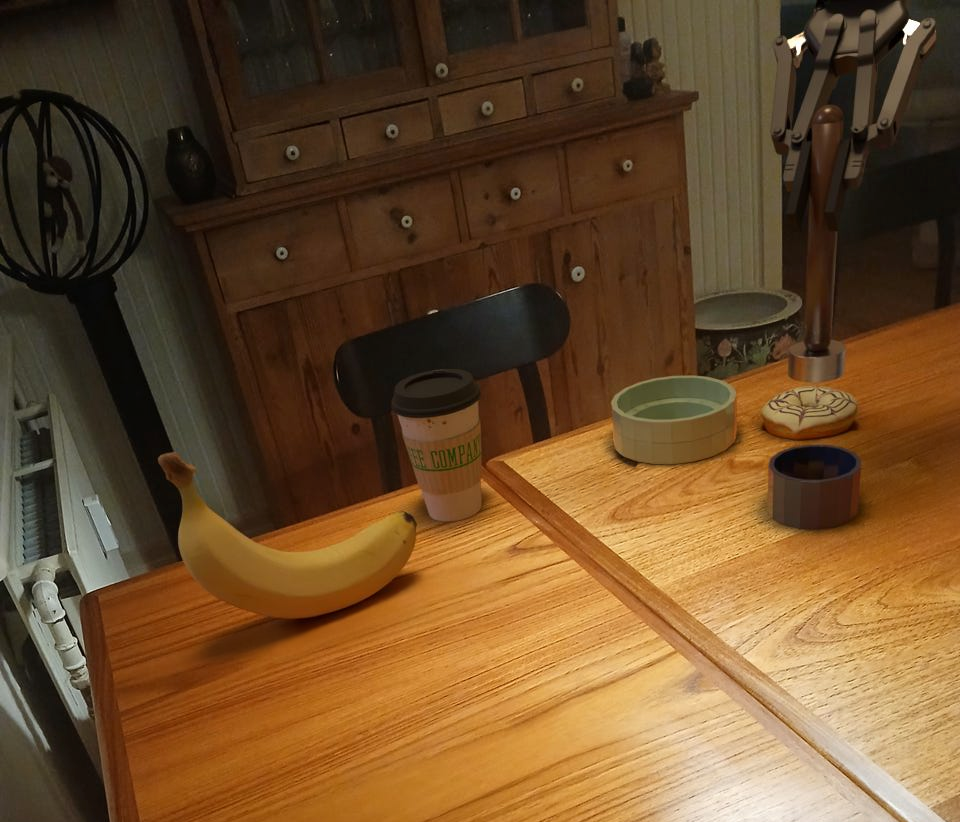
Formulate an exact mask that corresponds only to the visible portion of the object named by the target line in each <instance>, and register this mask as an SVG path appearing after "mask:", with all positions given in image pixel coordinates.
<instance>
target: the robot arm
mask: <svg viewBox="0 0 960 822" xmlns="http://www.w3.org/2000/svg"><path fill="white" fill-rule="evenodd" d="M909 4H910V0H815V4H814V10H813V14H812V15H811V17H810V18H809V19H808V20H807V22H806V24H805V26H804V27H803V31H802V32H800V33H799V34H796V35H795V36H793V37H791V38H789V39H788V38H787V36H785V35H778V36H777V37H775V38H774V39H773V41H772V48H773V52H774V53H773V54H774V56H775V61H776V63H777V64H776V74H775V83H774V91H773V92H774V93H773V101H772V102H773V103H772V113H771V122H770V131H769V132H770V137H771V141H772V144H773V147H774V151H775V153H776V155H779V156H783V155H785V154H787V157H786V161H785V166H784V170H783V174H782V179H783V184H784V187H785V190H786V192H787V193H788V192H790V194H789V199H788V203H787V207H786V211H785V216H786V220H787V224H788V226H789V230H790V233H801V231H802V226H803V222H804V217H805V212H806V209H807V203H808V200H809V196H810V171H811V145H812V122H813V118H814V115H815V113H816V112H817V111H818V110H819V109H820V108H821V107H823V106H825V105H828V103H829V100H830V97H831V96H832V92H833V90H835V89H836V86H837V84H838V81H839V79H840V76H842V75H845V74H848V73H849V74H850V73H852V74H856V77H855V78H856V79H855V90H854V101H853V113H852V125H851V126H850V131H851V138H842V139H841V141H840V145H839V150H838V154H837V158H836V163H835V167H834V172H833V176H832V181H831V185H830V190H829V194H828V198H827V203H826V207H825V212H824V214H825V218H826V222H827V226H828V231H837V232H839V228H840V224H841V219H842V215H843V210H844V206H845V203H846V197H847V193H848V190H856V189H857V190H858V189H859V188H860V186H861V184H862V183H863V178H864V177H863V176H864V172H865V168H866V164H867V161H868V160H867V159H868V156H869V154H870V153H871V152H872V151H873V150H875V149H878V148H881V149H889V148H891V147H892V146H893V145H894V144H895V142H896V139H897V135H898V133H899V130H900V128H901V125H902V121H903V120H904V116H905V113H906V110H907V107H908V105H909V102H910V99H911V96H912V93H913V91H914V87H915V85H916V82H917V80H918V76H919V74H920V72H921V68H922V66H923V64H924V63H925V62H926V60H927V59H928V58H929V57H930V55H931V54H932V53H933V52H934V50H935V49H936V47H937V30H936V27H937V26H936V20H935V19H934V18H933V17H927V18H924V19H923V20H921V21H920V22H918V21H916V20H913V19H910V12H909ZM901 41H902V47H903V48H902V51H901V52H900V57H899V59H898V62H897V64H896V67H895V70H894V73H893V76H892V79H891V81H890V84H889V87H888V90H887V92H886V95H885V98H884V101H883V104H882V107H881V109H880V112H879V115H878V118H877V121H876V122H875V123H873V122H874V121H873V119H874V109H875V97H876V85H877V82H878V71H879V64H880V63H881V62H882V61H883V60H884V59H885V58H886V57H887V56H888V55H889V54H890V53H891V52H892V51H893V50H894V49H895V48H896V47H897V46H898V45H899V44H900V43H901ZM807 49H808V51H809V53H810V54H811V56H812V57H813V59H814V61H815V62H814V70H813V72H812V75H811V78H810V81H809V82H808V87H807V89H806V92H805V95H804V98H803V100H802V103H801V106H800V109H799V112H798V114H797V117H796V120H795V123H794V126H793V119H794V109H795V97H796V89H797V88H796V87H797V72H796V69H798V68H800V66H801V62H802V61H803V54H804V52H805V51H806V50H807Z"/></svg>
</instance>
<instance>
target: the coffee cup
mask: <svg viewBox="0 0 960 822" xmlns="http://www.w3.org/2000/svg"><path fill="white" fill-rule="evenodd" d="M481 398H482V390H481V387H480V385H479V384H478V383H477V382H475V379H474V376H473V374H472V373H470V372H469V371H467V370H463V369H457V368H442V369H441V368H440V369H432V370H426V371H423V372H419V373H416V374H412V375H410V376H408V377H406V378H404V379H402V380H401V381H399V382H398V383H397V384H396V385H395V386H394V390H393V397H392V399H391V408H390V409H391V411H392V412H393V413H394V414H395V415H397V418H398V422H399V424H400V427H401V435H402V439H403V442H404V444H405V447H406V451H407V453H408V457H409V460H410V462H411V466H412V470H413V472H414V476H415V478H416V481H417V485H418V488H419V489H420V491H421V494H422V497H423V500H424V503H425V507H426V510H427V512H428V515H429V517H430V518H431V519H433V520H435V521H439V522H446V523H447V522H458V521H463V520H465V519H469V518H471V517H473V516H475V515H477V513H479V512H480V510H481V509H482V505H483V504H482V503H483V501H482V478H483V463H482V431H481V430H482V428H481V418H480V416H479V400H480V399H481Z"/></svg>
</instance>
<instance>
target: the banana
mask: <svg viewBox="0 0 960 822" xmlns="http://www.w3.org/2000/svg"><path fill="white" fill-rule="evenodd" d="M157 463H158V464H159V465H160V467H161V469H162V471H163V472H164V473H165V479H166V480H167V481H169V482H171V483H172V484H173V485H174V486H175V487H176V488H177V489H178V491H179V493H180V496H181V502H182V513H181V518H180V522H179V527H178V532H177V533H178V536H177V544H178V549H179V554H180V557H181V559H182V561H183V564H184V566H185V567H186V569H187V571H188V573H189V574H190V575H191V577H192V578H193V579H194V581H196V583H197V584H198V585H199V586H200V587H202V589H204V590H205V591H206V592H207V593H209V594H210V595H211V596H213V597H214V598H216V599H218V600H220V601H221V602H223V603H225V604H227V605H229V606H232V607H233V608H237V609H240V610H242V611H246V612H250V613H253V614H257V615H259V616H260V615H261V616H264V617H265V616H266V617H269V618H275V619H277V618H278V619H287V620H289V619H291V620H292V619H293V620H294V619H307V618H313V617H319V616H323V615H326V614H329V613H333V612H336V611H339V610H342V609H345V608H348V607H350V606H354V605H356V604H357V603H360V602H362V601H364V600H366V599H368V598H370V597H371V596H373V595H374V594H376V593H377V592H379V591H380V590H382V589H383V588H384V587H386V586H387V585H388V584H390V583H391V582H392V581H393V580H394V579H395V578H396V577H397V576H398V575H399V574H400V573H401V572H402V570H403V569H404V568H405V566H406V565H407V563H408V562H409V559H410V558H411V556H412V554H413V551H414V549H415V546H416V542H417V534H418V533H417V526H418V524H417V523H418V522H417V521H416V519H415V516H413V514H411V513H408V512H407V511H404V510H401V511H397V512H395V513H393V514H391V515H389V516H386V517H384V518H382V519H380V520H378V521H376V522H374V523H373V524H370V525H369V526H367V527H366V528H364V529H362V530H361V531H359V532H358V533H356V534H353V535H352V536H350V537H349V538H347V539H344V540H342V541H339V542H337V543H335V544H331V545H328V546H326V547H322V548H319V549H313V550H308V551H285V550H284V551H283V550H278V549H275V548H272V547H268V546H266V545H263V544H260V543H258V542H257V541H254V540H252V539H251V538H249V537H248V536H246V535H244V534H243V533H242V532H240V531H239V530H238V529H236V528H235V527H234V526H233V525H231V524H230V523H229V522H228V521H227V520H225V519H224V518H223V517H221V516H220V515H219V514H217V513H215V511H214V510H212V509H210V508H209V506H208V505H207V504H206V503H205V501H204V500H203V498H202V497H201V495H200V494H199V492H198V491H197V489H196V487H195V483H194V474H196V472H197V468H196V467H195V466H194V465H192V464H190V463H187V462H185V461H184V460H183V459H182V458H181V457H180V455H179V454H178V453H177V452H175V451H172V452H165V453H163V454H160V455H159V456H158V458H157Z"/></svg>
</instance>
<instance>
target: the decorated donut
mask: <svg viewBox="0 0 960 822" xmlns="http://www.w3.org/2000/svg"><path fill="white" fill-rule="evenodd" d="M760 416H761V418H762V420H763V425H764V428H765V429H766V431H767V432H768V433H769V434H770V435H772V436H775V437H778V438H783V439H789V440H810V439H820V438H825V437H830V436H831V437H832V436H836V435H838V434H841V433H842V432H846V431H847V430H849V428H851V426H852V425H853V423H854V422H855V419H856V418H857V416H858V400H857V399H856V398H855V397H854V396H853V394H850V393H849V392H846V391H843V390H841V389H838V388H834V387H829V386H823V385H805V386H799V387H793V388H791V389H788V390H786V391H783V392H780V393H778V394H776V395H775V396H774V397H772V398H771V399H769V400H768V402H766V404H764V405H763V407H762V409H761V410H760Z"/></svg>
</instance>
